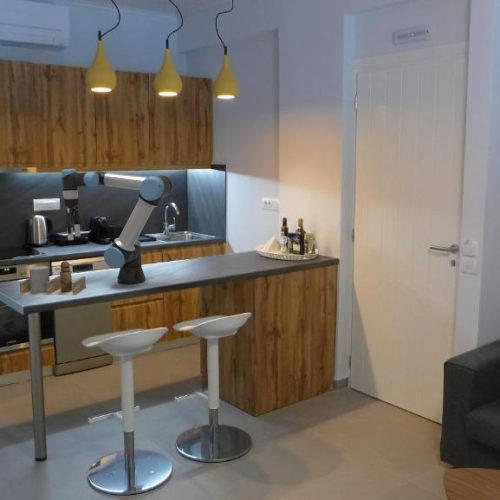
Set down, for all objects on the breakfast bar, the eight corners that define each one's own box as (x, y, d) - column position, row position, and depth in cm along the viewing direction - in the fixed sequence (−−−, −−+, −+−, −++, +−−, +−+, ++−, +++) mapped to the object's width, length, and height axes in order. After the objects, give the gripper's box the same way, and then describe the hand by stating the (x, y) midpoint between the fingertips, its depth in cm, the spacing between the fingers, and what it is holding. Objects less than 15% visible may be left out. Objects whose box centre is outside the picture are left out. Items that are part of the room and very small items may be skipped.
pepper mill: (73, 289, 319) (72, 260, 316) (70, 292, 313) (68, 262, 311) (63, 289, 319) (61, 260, 316) (59, 292, 313) (57, 262, 311)
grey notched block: (26, 292, 313) (24, 268, 311) (39, 288, 322) (37, 265, 320) (41, 294, 310) (40, 270, 308) (54, 290, 319) (52, 266, 317)
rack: (85, 289, 324) (85, 276, 322) (75, 296, 308) (74, 283, 307) (33, 289, 325) (32, 276, 324) (20, 296, 310) (19, 282, 309)
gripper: (70, 196, 341) (73, 235, 344) (56, 200, 316) (60, 241, 320) (84, 196, 341) (87, 234, 344) (71, 199, 316) (74, 241, 319)
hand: (74, 238), depth 332 cm, fingers open, 13 cm apart
